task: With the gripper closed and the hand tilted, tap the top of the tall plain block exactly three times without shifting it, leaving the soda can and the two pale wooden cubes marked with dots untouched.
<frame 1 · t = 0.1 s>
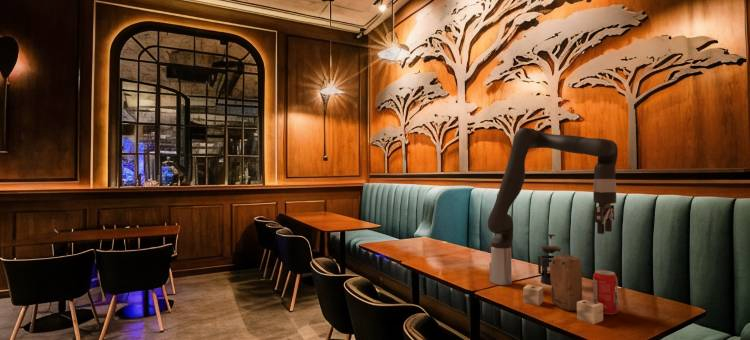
hand: (604, 232, 142), 29 cm above the table, tool pointing down, fingers open, 8 cm apart
block: (565, 307, 144), on the table
dotted cube one: (533, 302, 150), on the table
dotted cube two: (590, 319, 132), on the table
soda can: (605, 312, 139), on the table
french press: (550, 282, 176), on the table
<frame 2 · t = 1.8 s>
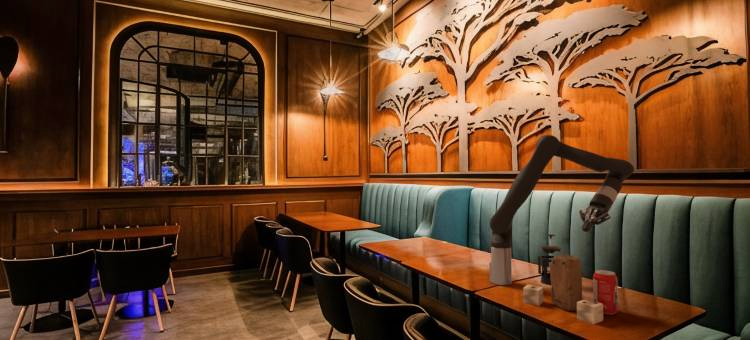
hand: (584, 230, 149), 29 cm above the table, tool tilted 45°, fingers closed
nothing on the table moved.
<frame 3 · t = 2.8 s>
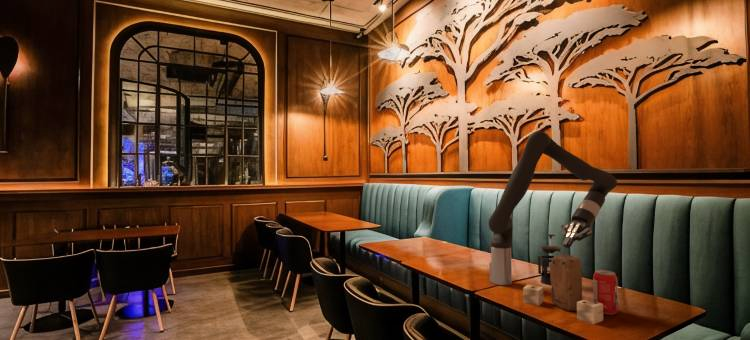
hand: (565, 246, 145), 24 cm above the table, tool tilted 45°, fingers closed
nothing on the table moved.
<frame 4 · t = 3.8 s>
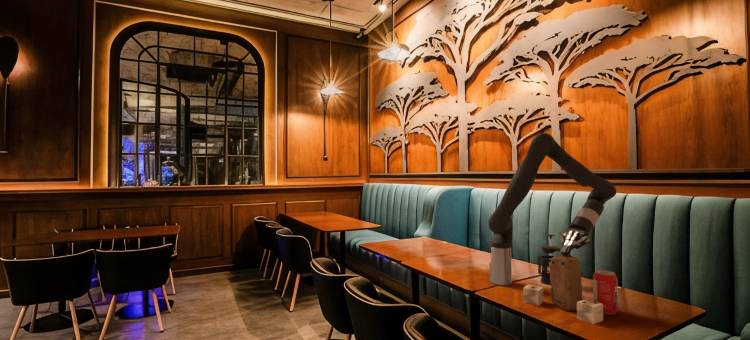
hand: (563, 254, 144), 21 cm above the table, tool tilted 45°, fingers closed
block: (565, 307, 144), on the table, touching gripper
everything else where it was.
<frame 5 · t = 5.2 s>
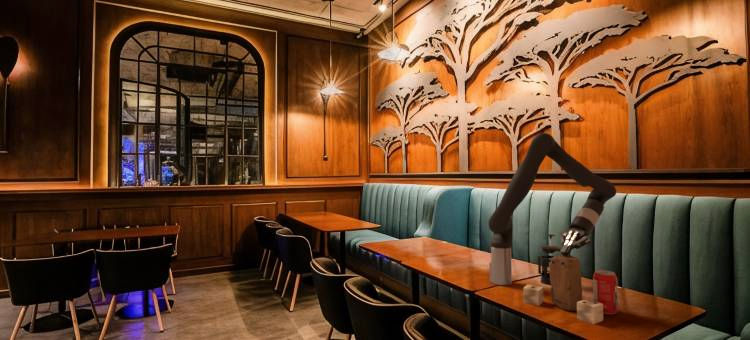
hand: (563, 254, 144), 21 cm above the table, tool tilted 45°, fingers closed
nothing on the table moved.
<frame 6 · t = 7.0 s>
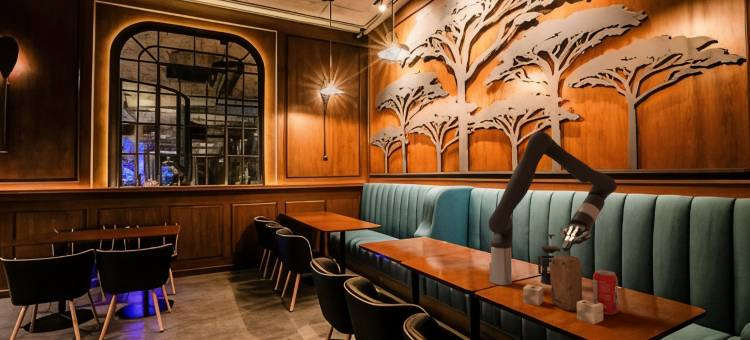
hand: (564, 249, 144), 22 cm above the table, tool tilted 45°, fingers closed
block: (565, 307, 144), on the table
everything else where it was.
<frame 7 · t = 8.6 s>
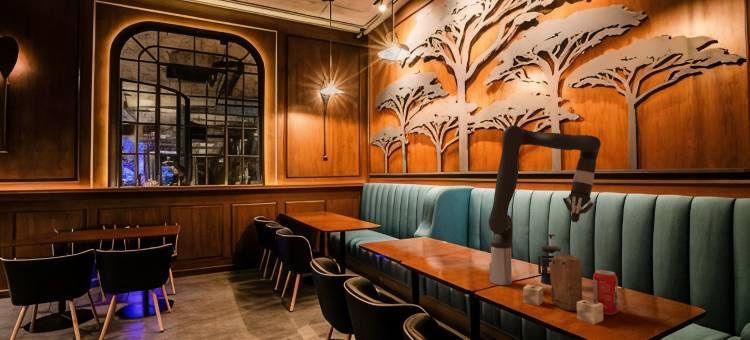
hand: (574, 222, 157), 31 cm above the table, tool pointing down, fingers closed
nothing on the table moved.
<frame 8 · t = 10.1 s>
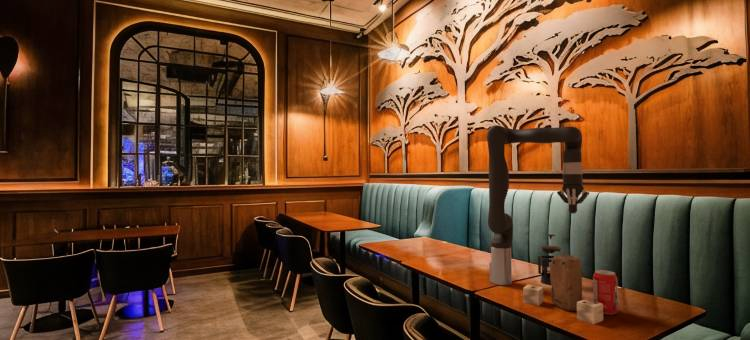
hand: (573, 213, 159), 35 cm above the table, tool pointing down, fingers closed
nothing on the table moved.
at the end: block moved 0.2 cm from its start; block tilted 0°; the gripper is holding nothing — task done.
